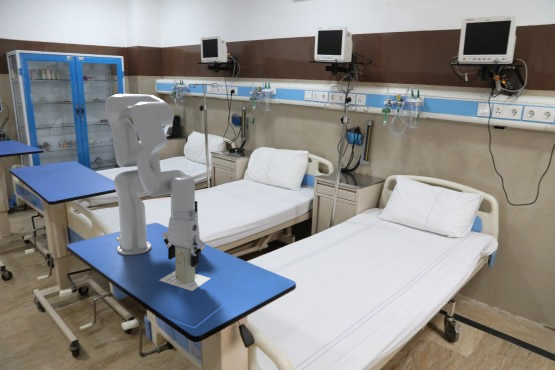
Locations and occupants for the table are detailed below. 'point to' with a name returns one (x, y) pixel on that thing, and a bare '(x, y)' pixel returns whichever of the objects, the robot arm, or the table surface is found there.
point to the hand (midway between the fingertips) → (183, 261)
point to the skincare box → (184, 265)
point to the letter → (189, 286)
